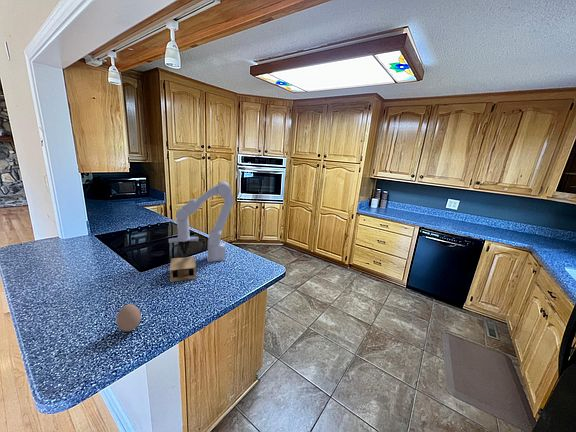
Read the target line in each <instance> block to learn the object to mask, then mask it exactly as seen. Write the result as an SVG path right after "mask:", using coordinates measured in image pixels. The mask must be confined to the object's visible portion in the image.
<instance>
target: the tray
mask: <svg viewBox="0 0 576 432" xmlns="http://www.w3.org/2000/svg"><path fill="white" fill-rule="evenodd" d="M176 274H177V275H176V277H181V276H190V269H181V270H176Z"/></svg>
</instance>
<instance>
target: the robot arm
mask: <svg viewBox="0 0 576 432" xmlns="http://www.w3.org/2000/svg"><path fill="white" fill-rule="evenodd" d="M232 190H233V189H232V187H231V186H230V184H229V183H228V182H227V181H224V180H222V181H219V182H218V184H215V185H213V186H212V187H211V188H209V189H208V190H207V191H206V192H204V193H202V195H200V196H199V197H198V198H192V199H189V200H188V202H187V203H186V204H185V205H181V208H179V209H178V210H177V211H176V213H175V218H176V221H177V222H176V226H177V227H176V228H177V237H172V238H168V244H172V243H178V246H179V247H180V250H181V251H182V255H183V256H184V255H187V250H188V247H189V245H190V242H199V236H190V221H189V216H190V215H191V216H192V215H193V214H194V213H196V212H197V211H198V210H199V209H201V208H202V204H203V203H205V202H206V201H208V200H209V199H210V198H211V197H213V196H219V195H220V196H221V197H222V198H223V199H222V200H223V204H222V207H221V208H220V209H221V210H220V212H219V215H218V217H217V220H216V222H215V224H214V227H213V229H212V230H211V231H210V232H209V233H208V234H209V235H208V239H207V255H206V260H207V263H212V262H222V261H226V244H225V243H224V242H221V236H222V232H223V230H224V227H225V224H226V221H227V219H228V217H229V215H230V213H231V210H232V207H233V205H234V202H235V199H234V195H233V192H232Z"/></svg>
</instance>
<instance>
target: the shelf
mask: <svg viewBox="0 0 576 432" xmlns="http://www.w3.org/2000/svg"><path fill="white" fill-rule="evenodd" d="M169 264H170V265H169V267H170V268H169V279H170V281H169V282H170V283H172V282H178V281H179V282H180V281H187V280H195V279H197V264H196V256H186V257H176V258H175V257H174V258H173V257H172V258H170V263H169ZM181 269H189V270H190V269H192V271H193V272H192V273H193V274H191V275H190V274H189V276H181V277H177V276H174V273H175V271H177V270H181Z"/></svg>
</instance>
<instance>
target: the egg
mask: <svg viewBox="0 0 576 432" xmlns="http://www.w3.org/2000/svg"><path fill="white" fill-rule="evenodd" d="M141 319H142V315H141V311H140V309H139V308H138V307H137V306H136V305H135V304H132V303H129V304H126V305H124V306H122V307H121V308H120V309H119V311H118V313H117V315H116V326H117V327H118V329H120V330H121V331H122V332H131V331H134V330H135V329H136V328H137V327H138V325H140V322H141Z"/></svg>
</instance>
